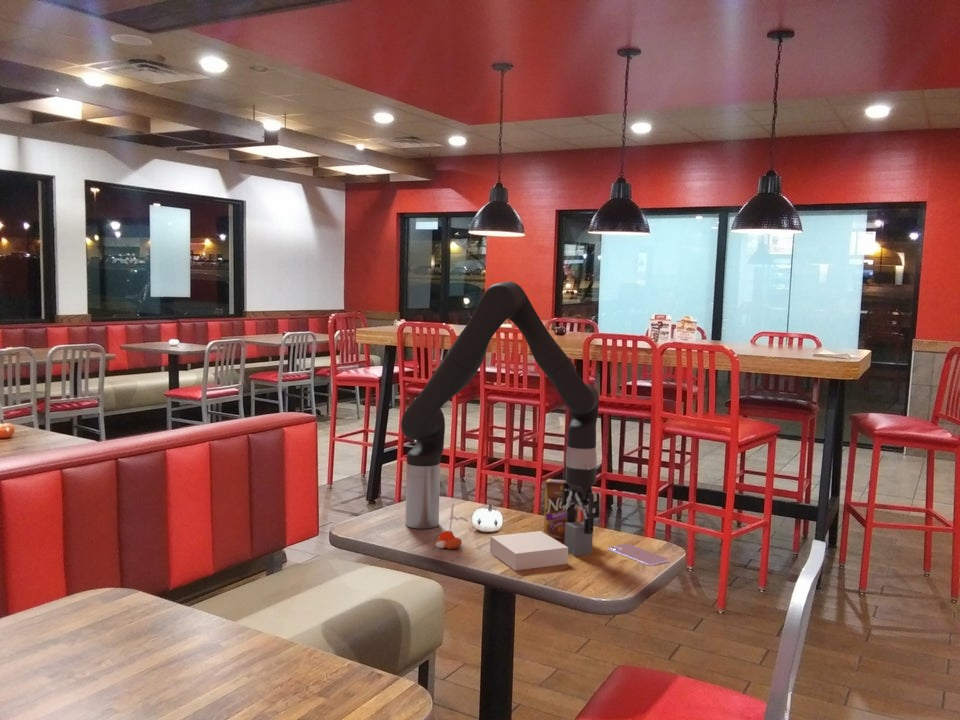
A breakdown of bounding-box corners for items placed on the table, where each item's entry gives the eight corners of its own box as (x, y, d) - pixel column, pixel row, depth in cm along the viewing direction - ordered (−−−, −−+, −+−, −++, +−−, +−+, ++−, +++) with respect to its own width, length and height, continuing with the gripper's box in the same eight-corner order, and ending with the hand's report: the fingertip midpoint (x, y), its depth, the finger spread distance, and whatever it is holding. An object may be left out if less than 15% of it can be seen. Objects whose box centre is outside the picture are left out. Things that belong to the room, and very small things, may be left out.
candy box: (543, 538, 205) (544, 481, 204) (546, 533, 209) (548, 477, 208) (576, 541, 203) (578, 484, 202) (579, 536, 207) (581, 480, 206)
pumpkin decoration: (455, 555, 189) (457, 507, 188) (429, 546, 196) (430, 499, 195) (473, 550, 193) (474, 503, 193) (446, 541, 200) (447, 496, 199)
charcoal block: (564, 550, 196) (565, 522, 195) (581, 548, 198) (582, 521, 197) (574, 556, 191) (575, 528, 190) (591, 554, 193) (592, 526, 192)
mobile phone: (649, 563, 185) (605, 546, 197) (649, 567, 185) (605, 550, 197) (671, 558, 189) (627, 542, 201) (671, 562, 189) (626, 546, 201)
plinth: (490, 552, 192) (490, 536, 192) (540, 546, 198) (540, 531, 198) (515, 570, 179) (515, 553, 179) (567, 563, 185) (568, 547, 185)
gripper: (553, 460, 198) (552, 522, 199) (583, 471, 184) (581, 538, 186) (579, 458, 200) (578, 520, 202) (609, 469, 187) (608, 535, 189)
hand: (579, 528), depth 194 cm, fingers open, 8 cm apart
